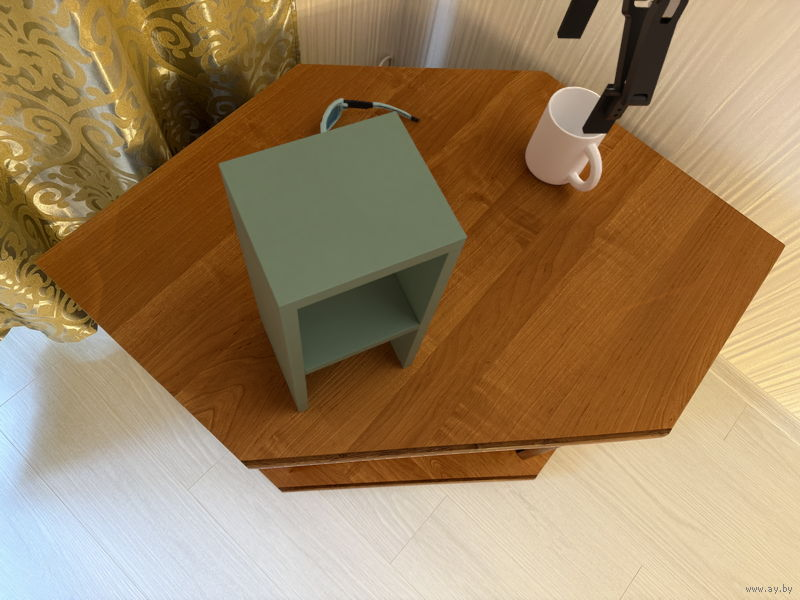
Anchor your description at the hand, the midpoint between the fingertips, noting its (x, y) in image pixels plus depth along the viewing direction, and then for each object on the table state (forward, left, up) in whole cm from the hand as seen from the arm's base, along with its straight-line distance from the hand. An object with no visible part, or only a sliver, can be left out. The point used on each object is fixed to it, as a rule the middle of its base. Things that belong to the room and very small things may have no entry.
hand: (580, 82), depth 66 cm
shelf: (-12, +34, -18) cm, 40 cm away
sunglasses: (+11, +19, -18) cm, 28 cm away
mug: (-1, -4, -18) cm, 18 cm away
